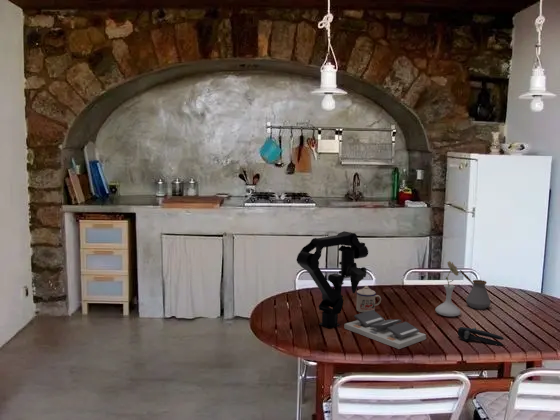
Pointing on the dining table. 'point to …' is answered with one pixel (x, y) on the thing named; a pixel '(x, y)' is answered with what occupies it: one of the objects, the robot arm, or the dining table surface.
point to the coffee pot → (477, 294)
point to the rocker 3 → (403, 329)
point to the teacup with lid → (366, 300)
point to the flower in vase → (449, 297)
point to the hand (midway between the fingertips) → (346, 294)
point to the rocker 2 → (385, 323)
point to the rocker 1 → (369, 318)
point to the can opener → (467, 336)
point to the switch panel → (384, 335)
